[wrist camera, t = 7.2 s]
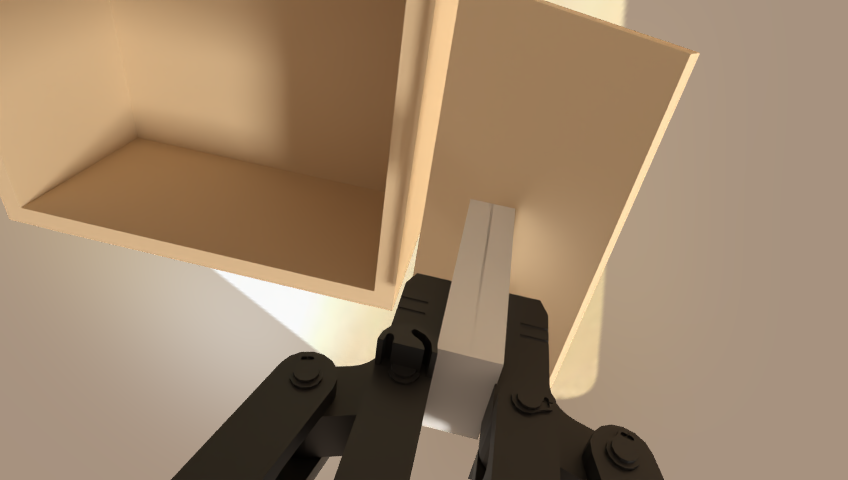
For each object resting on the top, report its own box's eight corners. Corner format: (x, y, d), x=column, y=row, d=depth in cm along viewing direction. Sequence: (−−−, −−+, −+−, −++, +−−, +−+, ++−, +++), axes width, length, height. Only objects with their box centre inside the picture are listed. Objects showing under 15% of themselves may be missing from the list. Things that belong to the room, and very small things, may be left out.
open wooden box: (126, 150, 36) (3, 226, 27) (52, -184, 25) (-183, -223, 17) (426, 217, 34) (390, 319, 26) (482, -110, 23) (451, -113, 15)
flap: (524, 436, 19) (532, 430, 19) (690, 53, 11) (701, 52, 11) (407, 312, 23) (415, 308, 24) (462, -24, 15) (474, -24, 16)
